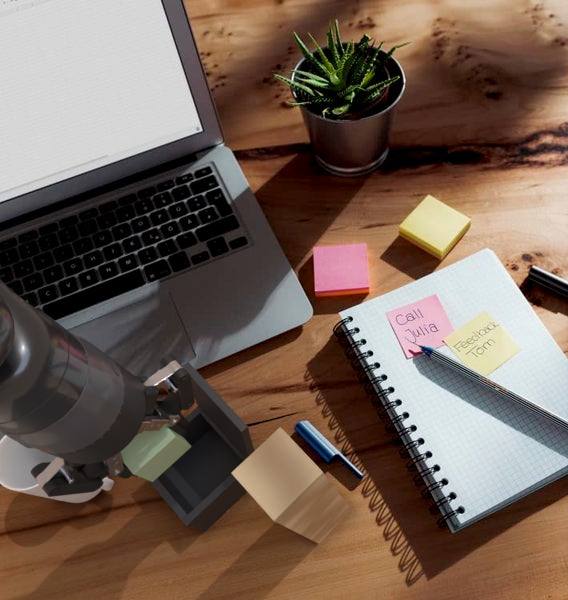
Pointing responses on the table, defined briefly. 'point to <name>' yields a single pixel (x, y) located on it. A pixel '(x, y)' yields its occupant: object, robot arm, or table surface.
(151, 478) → the block
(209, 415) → the open box flap
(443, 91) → the table surface
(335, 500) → the stand
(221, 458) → the grey lidded box
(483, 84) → the table surface
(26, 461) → the mug
